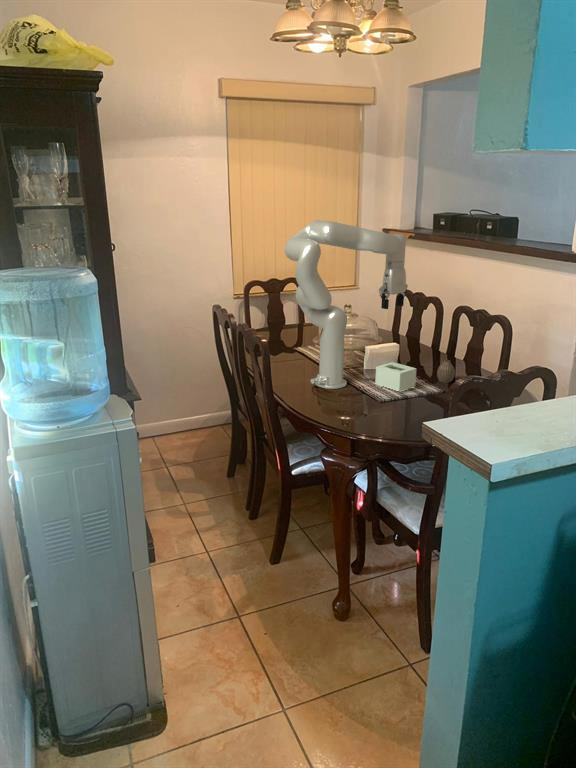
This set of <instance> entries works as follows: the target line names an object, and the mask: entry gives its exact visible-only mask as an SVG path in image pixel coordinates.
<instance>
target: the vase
mask: <svg viewBox="0 0 576 768" xmlns="http://www.w3.org/2000/svg"><path fill="white" fill-rule="evenodd" d="M455 373H456V371H455V367H454V366H453V364H452V363H451V360H450V359H449V360H448V359H445V360H443V362H442V363H441V364H440V365H439V366H438V367H437V372H436V376H437V379H438V380H439V382H441V383H444V384H449V383H451V382H452V381H453V380H454V378H455V375H456V374H455Z"/></svg>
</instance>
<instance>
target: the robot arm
mask: <svg viewBox="0 0 576 768" xmlns="http://www.w3.org/2000/svg"><path fill="white" fill-rule="evenodd" d="M406 243H407V237H406V235H405V234H403V233H388V232H382V231H377V230H372V229H368V228H363V227H360V226H354V225H350V224H346V223H340V222H336V221H332V220H320V219H319V220H314V221H312V222H310V223H309V224H307V225H306V226H304V227H303V228H301V229H300V231H298V232H296V233H295V234H294V235H293V236H291V237H290V238H289V239H288V240H287V241H286V243H285V245H284V254H285V256H286V258H287V259H289V260H291V261H293V262H297V264H296V268H295V275H294V276H295V281H296V283H297V285H298V286H297V288H296V291H295V299H296V302H297V304H298V306H299V307H300V309H301V311H302V312H303V314H304V315H305V317H307V319H308V321H309V323H311V324H312V325H313V326H316V327H318V328H321V329H322V333H321V335H320V338H319V366H318V367H319V368H318V369H319V372H318V374H317V375H316V377H315V378H311V379H310V384H315V386H317V387H319V388H322V389H328V390H329V389H331V390H334V389H341V388H344V387H346V386H347V383H348V382H347V380H346V379H344V359H345V358H344V357H345V356H344V353H345V335H346V328H347V325H348V316H347V315H348V314H346V312H345V310H343V308H341V307H339V306H336V305H332V299H333V298H332V294H331V293H330V291H329V288H328V287H327V286H326V284H325V283H324V280H323V279H322V277H321V276H320V273H319V271H318V266H319V265H318V264H319V260H320V259H321V255H322V253H321V252H322V249H321V246H320V244H321V245H327V246H331V247H332V246H333V247H337V248H343V249H347V250H354V251H361V252H362V251H364V252H365V251H366V252H371V253H374V254H379V255H385V269H384V271H383V278H382V285H381V286H380V287H379V288H378V293H379V297H380V299H381V309H382V310H383V309H384V310H388V309H389V304H390V299H389V297H390V295H396V296H397V297H396V306H398V307H404V304H405V303H404V302H405V297H406V293H407V290H408V288H409V287H408V286H409V285H408V284H407V274H406V268H405V261H406V245H407V244H406Z"/></svg>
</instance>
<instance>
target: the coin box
mask: <svg viewBox="0 0 576 768" xmlns="http://www.w3.org/2000/svg"><path fill="white" fill-rule="evenodd" d="M416 379H417V368H415V367H413V366H408V365H405V364H403V363H402V364H401V363H398V362H393V361H391V362H387V363H384V364H381V365H378V366H376V367H375V380H374V383H375V384H377V385H380V386H384V387H387V388H390V389H393V390H396V391H401V390H405V389H408V388H411V387H414V386H415V387H416Z"/></svg>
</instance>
